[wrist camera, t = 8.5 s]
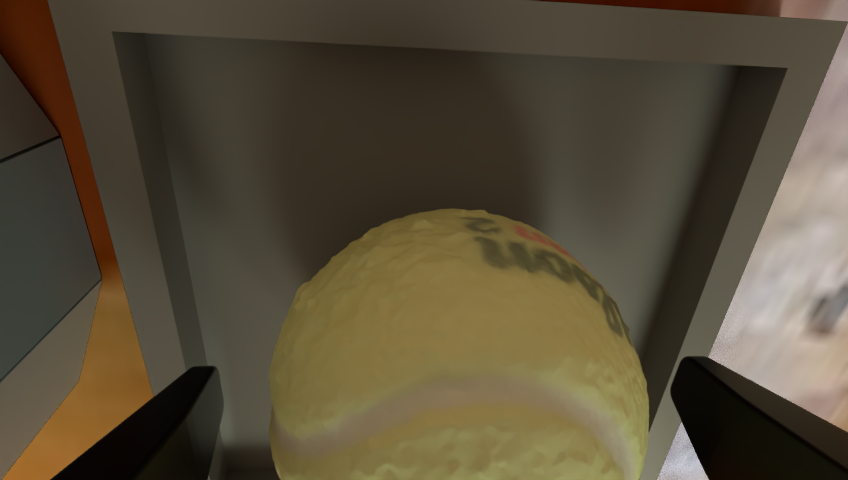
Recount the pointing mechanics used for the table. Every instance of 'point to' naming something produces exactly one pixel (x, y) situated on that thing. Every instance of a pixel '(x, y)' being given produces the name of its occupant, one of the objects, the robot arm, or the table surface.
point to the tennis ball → (456, 361)
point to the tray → (427, 159)
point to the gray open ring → (38, 271)
